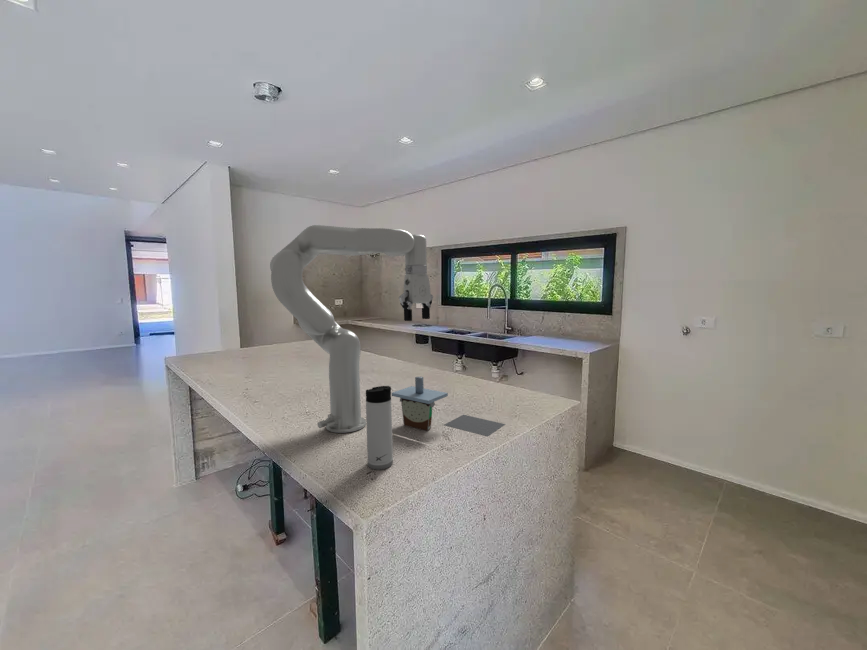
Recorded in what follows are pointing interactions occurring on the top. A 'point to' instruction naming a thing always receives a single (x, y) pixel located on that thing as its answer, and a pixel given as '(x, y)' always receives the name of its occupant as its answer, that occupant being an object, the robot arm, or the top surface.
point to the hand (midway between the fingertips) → (417, 319)
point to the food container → (417, 414)
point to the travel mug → (379, 427)
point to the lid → (420, 393)
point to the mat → (475, 425)
